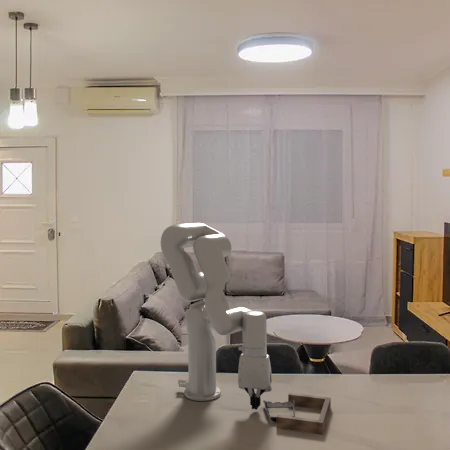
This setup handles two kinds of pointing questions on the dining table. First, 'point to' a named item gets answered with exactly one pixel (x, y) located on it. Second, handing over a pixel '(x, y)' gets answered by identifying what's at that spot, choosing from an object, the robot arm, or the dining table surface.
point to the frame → (304, 423)
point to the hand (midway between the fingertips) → (255, 407)
